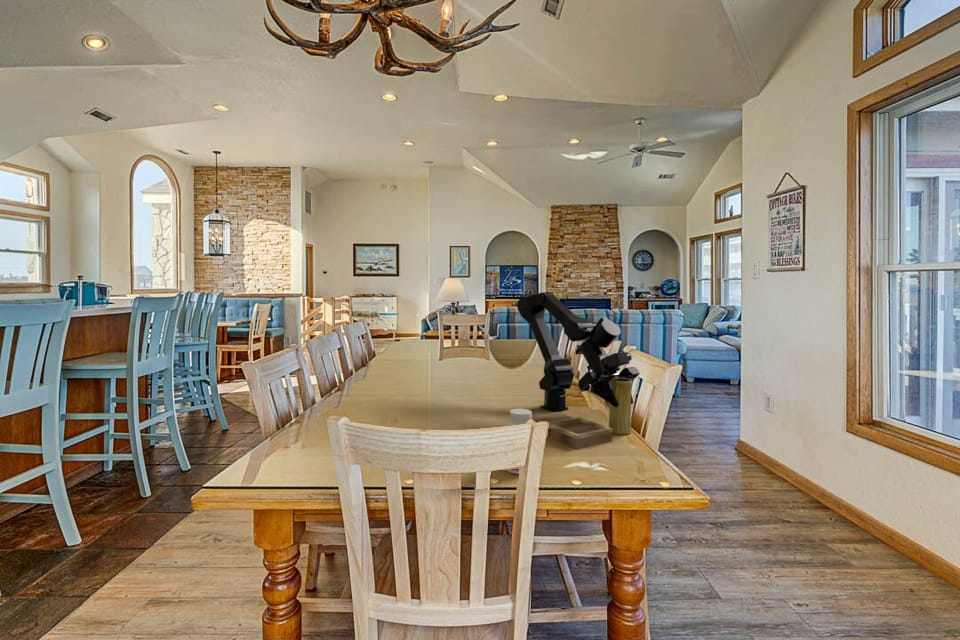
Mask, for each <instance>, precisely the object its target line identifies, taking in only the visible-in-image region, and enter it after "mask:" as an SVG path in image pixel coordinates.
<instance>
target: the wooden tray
mask: <svg viewBox="0 0 960 640" xmlns="http://www.w3.org/2000/svg"><path fill="white" fill-rule="evenodd" d="M531 419H533V420H534V421H536V422H539V421H547V422H549V429H548V436H549V437H548V438H550V437H552V438H554V439H556V440H555V441H557V440H558V441H557V442H559V441H560V443H561V442H562V444H563V445H566V446H568V447H571V448H573V449H575V450H579V449H582V448H587V447H588V446H589V447H591V446H592V445H593V446H596V445H597V444H598V445H602V444H605V442H607V443H610V442H609V441H612V442H613V433H612V428H609V427H608V426H606V425H603V424H601V423H599V422H598V423H597V422H594V421H593V420H592V421H591V420H589V419H586V418H583V417H580V416H578V417H572V416H570V415H567V414H564V413H561V412H558V413H552V414H544V415H539V416H532V418H531ZM552 438H551V439H552ZM554 439H553V440H554ZM601 443H602V444H601Z"/></svg>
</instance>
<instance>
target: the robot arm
mask: <svg viewBox="0 0 960 640" xmlns="http://www.w3.org/2000/svg"><path fill="white" fill-rule="evenodd" d="M516 307H517V311H518V312H519V315H520V317H521V318H522V319H523V320H525V321H526V322H527V323H529V325H530V329H531V330H532V333H533V336H534V338H535V341H536V342H537V345H538V347H539V350H540V353H541V355H542V357H543V360H544V367H543V374H544V375H543V377H542V378H541V379H540V380H539V382H538V385H539V386H538V387H539V389H540V390H543V391H544V399H543V400H544V401H543V404H541V405H540V406H539V407H540V408H542V409H545V410H547V411H551V412H557V411H558V412H559V411H565V410H569V409H570V407H568V406H566V401H567V400H566V398H567V395H566V390H571V387H572V384H573V380H574V377H575V373H574V368H573V367H572V365H571V361H570V359H569V358H567V357H566V358H563V357H561V355H560V352H559V351H558V348H557V346H556V343H555V341H554V339H553V336H552V334H551V332H550V329H549V327H548V324H547V322H546V320H545V313H546V311H547V312H548V313H549V314H550V315H551V316H552V317H553V318H554V319H555V320H556V321H558V323H560V324H561V325H562V328H563V333H564V334H565V336H566V337H567V338H568V339H569V341H571V342H581V344H577V345H576V349H575V355H582V356H583V358H584V359H585V361H586V362H587V364H588V365H587V367H586V369H587V370H588V371H587V372H585V374H584V375H583V376H582V377H580V379H579V380H578V382H577V386H578V387H577V388H578V389H579V390H580V392H588V391H589V392H590V393H591V394H594V395H596V396H597V397H600V398H601V399H603V400H604V401H605V402H607V403H608V404H609V405H610V404H611V405H613V406H614V407H617V406H618V402H617V400H616V398H615V396H614V394H613V392H612V391H611V385H610V383H612V379H613V378H627V379H631V380H632V382H634V380H635V379H636V378H637V377H639V375H640V373H641V372H640V371H639V370H638V368H637V367H635V366H630V367H629V366H628V367H624V368H623V369H622V368H621V367H622V366H625V365H629V364H630V362H631V361H632V359H633V358H632V355H631V353H630V351H628V349H623V350H622V351H619V352H615V353H612V354H610V353H609V354H607V353H606V351H605V349H606V348H607V349H608V348H609V346H610V345H612V343H613V342H614V341H615V340H616V339H617V338H618V337H619V336H620V334H621V328H620V326H619V325H618V324H616V323H615V322H614V321H612V320H610V319H609V318H608V317H606V316H604V317H602V316H601V317H600V318H599V320H598V321H597V323H596V324H595V325H594V324H593V323H592V322H591V321H589V320H588V319H586V318H584V317H581V316H579V315H576V314H574V312H572V310H571V309H570V308H568V307H567V306H566V305H565V304H564V303H563V302H562V301H561V300H559V299H558V298H557V297H556V295H555V294H554V293H553V292H544V291H543V292H540V293H537V294H534V295H533V294H532V295H529V296H528V295H524V296H521V297H519V298H518V300H517V302H516ZM621 369H622V370H621ZM620 370H621V371H620ZM590 388H591V389H590ZM633 404H634V399H633V395H632V392H631V406H632V405H633Z"/></svg>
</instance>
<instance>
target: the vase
mask: <svg viewBox="0 0 960 640" xmlns="http://www.w3.org/2000/svg"><path fill="white" fill-rule="evenodd" d="M632 382H633V381H632V380H631V379H627V378H613V379H612V382H610V384H611V385H610V389H611V391H612V392H613V394H614V396H615V398H616V400H617V402H618V406H617V407H614V406H613V405H611V404H610V403H609V413H608V426H607V427H609V428H612V434H613V433H615V434H614V435H618V434H621V435H620V436H625V434H627V435H630V434H631V433H632V430H631V429H632V428H631V427H632V426H631V423H632V422H631V415H632V405H631V393H632V390H633V387H632V386H633V383H632ZM623 434H624V435H623Z"/></svg>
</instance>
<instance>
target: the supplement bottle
mask: <svg viewBox="0 0 960 640" xmlns="http://www.w3.org/2000/svg"><path fill="white" fill-rule="evenodd" d="M532 417H533V412H532V410H531V409H528V408H527V409H526V408H513V409H510V410H509V418H510V421H507V423H506V424H505V426H511V425H519V424H524V423H526V422H527V421H528V420H530V419H531V418H532ZM506 471H507V472H508V473H511V474H514V475H518V472H519V469H511V470H506Z"/></svg>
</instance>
